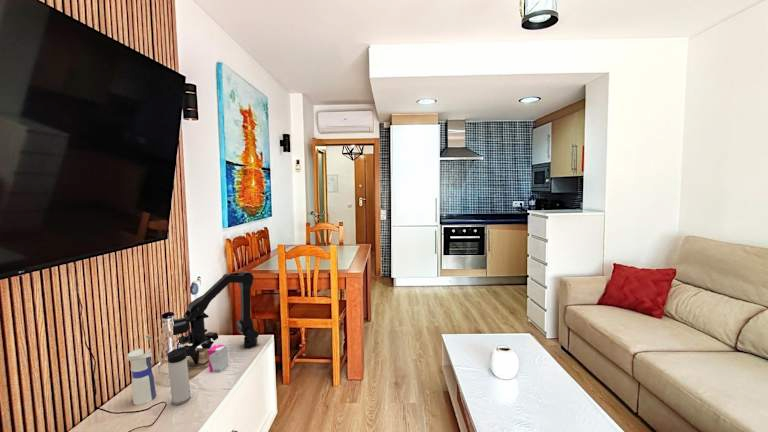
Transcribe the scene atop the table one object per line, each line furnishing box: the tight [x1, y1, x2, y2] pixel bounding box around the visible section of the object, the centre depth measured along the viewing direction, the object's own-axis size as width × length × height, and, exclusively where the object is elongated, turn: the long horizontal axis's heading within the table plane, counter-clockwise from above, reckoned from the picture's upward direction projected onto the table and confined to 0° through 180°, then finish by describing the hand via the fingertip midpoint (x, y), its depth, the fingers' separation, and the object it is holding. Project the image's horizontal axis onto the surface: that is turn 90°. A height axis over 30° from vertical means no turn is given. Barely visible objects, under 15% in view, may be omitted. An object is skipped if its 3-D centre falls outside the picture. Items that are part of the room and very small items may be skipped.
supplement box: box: [208, 344, 229, 373], centre depth 155 cm, size 6×6×12 cm
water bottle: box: [125, 333, 158, 406], centre depth 137 cm, size 8×9×25 cm
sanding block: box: [188, 347, 209, 365], centre depth 162 cm, size 5×8×5 cm, turn 75°
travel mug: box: [167, 346, 192, 406], centre depth 135 cm, size 6×7×20 cm
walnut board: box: [187, 360, 209, 381], centre depth 159 cm, size 22×14×2 cm, turn 165°
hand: (200, 361), depth 162 cm, fingers closed on sanding block, 5 cm apart
